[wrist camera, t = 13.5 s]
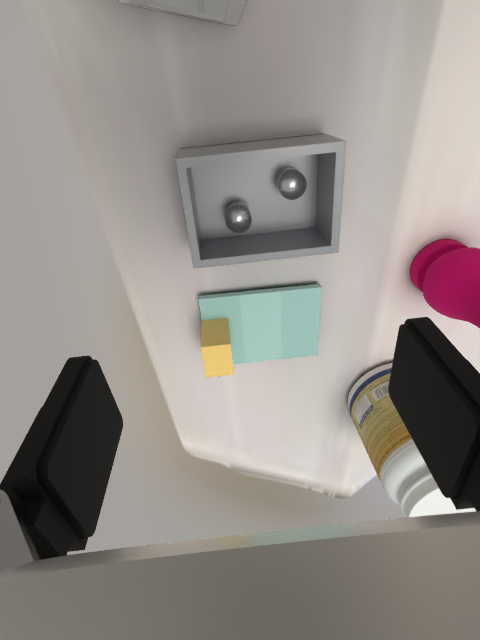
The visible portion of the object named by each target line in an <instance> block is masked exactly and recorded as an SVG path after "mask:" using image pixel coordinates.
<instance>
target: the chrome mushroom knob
mask: <svg viewBox="0 0 480 640" xmlns="http://www.w3.org/2000/svg"><path fill="white" fill-rule="evenodd" d="M275 185H276V187H277V189H278V190H279V192H280V193H281V194H282V196H283V197H284V198H286V199H289V200H295V199H298V198H299V197H301V196H302V195H303V194H304V192H305V190H306V186H307V182H306V179H305V177H304V175H303V174H301V173H300V172H299V171H298V170H297V169H296V168H294V167H291V166H287V167H283V168H282V169H280V170H279V171H278V173H277V174H276V177H275Z"/></svg>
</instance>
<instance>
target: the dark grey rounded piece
mask: <svg viewBox="0 0 480 640" xmlns="http://www.w3.org/2000/svg"><path fill="white" fill-rule="evenodd" d="M225 221H226V225H227V227H228V228H229V229H230V230H231V231H232V232H235V233H242V232H245V231H246V230H247V229H248V228H249V227H250V225H251V222H252V217H251V214H250V211H249V208H248V206H247V204H246V203H245V202H243V201H241V200H233V201H231V202H230V203H228V204H227V206H226V208H225Z"/></svg>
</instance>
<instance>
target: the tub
mask: <svg viewBox="0 0 480 640" xmlns="http://www.w3.org/2000/svg"><path fill="white" fill-rule="evenodd" d="M345 147H346V141H344V140H341V139H339V138H336V137H333V136H330V135H327V134H315V135H306V136H296V137H287V138H277V139H268V140H258V141H248V142H239V143H229V144H220V145H210V146H201V147H191V148H181V149H180V150H179V152H178V154H177V156H176V158H175V161H176V167H177V173H178V179H179V185H180V191H181V197H182V203H183V208H184V214H185V220H186V226H187V232H188V238H189V244H190V250H191V256H192V262H193V267H194V268H203V267H212V266H221V265H230V264H239V263H248V262H257V261H266V260H275V259H284V258H293V257H302V256H311V255H321V254H330V253H338V251H339V236H340V221H341V206H342V192H343V177H344V162H345ZM287 166H291V167H294V168H296V169H297V170H298V171H299V172H300V173H301V174H303V175H304V177H305V179H306V182H307V186H306V190H305V192H304V194H303V195H302V196H301V197H299V198H298V199H295V200H289V199H286V198H284V197H283V196H282V194H281V193H280V192H279V190H278V189H277V187H276V185H275V177H276V174H277V173H278V171H279V170H280V169H282V168H283V167H287ZM233 200H241V201H243V202H245V203H246V204H247V206H248V208H249V211H250V214H251V217H252V222H251V225H250V227H249V228H248V229H247V230H246V231H245V232H242V233H235V232H232V231H231V230H230V229H229V228H228V227H227V225H226V221H225V208H226V206H227V204H228V203H230V202H231V201H233Z"/></svg>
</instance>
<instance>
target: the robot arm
mask: <svg viewBox="0 0 480 640" xmlns="http://www.w3.org/2000/svg"><path fill="white" fill-rule="evenodd" d="M388 392H389V396H390V399H391V401H392V402H393V404H394V406H395V408H396V410H397V412H398V414H399V415H400V417H401V419H402V421H403V423H404V425H405V426H406V428H407V430H408V432H409V434H410V436H411V438H412V439H413V441H414V443H415V445H416V447H417V449H418V450H419V452H420V454H421V456H422V458H423V460H424V462H425V463H426V465H427V467H428V469H429V471H430V473H431V474H432V476H433V478H434V480H435V482H436V484H437V486H438V487H439V489H440V491H441V493H442V494H443V495H444V497H446V498H450V499H451V501H452V502H453V504H454V506H455V508H456V510H459V509H468V508H475V510H476V511H475V512H463V513H451V514H439V515H427V516H416V517H406V518H397V519H388V520H377V521H367V522H358V523H348V524H338V525H329V526H319V527H310V528H301V529H291V530H283V531H282V530H281V531H272V532H263V533H254V534H244V535H235V536H226V537H217V538H208V539H199V540H191V541H181V542H172V543H163V544H155V545H146V546H138V547H128V548H120V549H112V550H104V551H97V552H89V553H82V554H74V555H67V552H68V551H78V550H85V547H86V543H87V540H88V537H91V536H92V535H93V534H94V532H95V529H96V525H97V522H98V518H99V514H100V510H101V507H102V503H103V499H104V495H105V492H106V488H107V484H108V481H109V477H110V473H111V470H112V466H113V462H114V458H115V455H116V451H117V447H118V443H119V440H120V436H121V432H122V428H123V419H122V416H121V414H120V411H119V409H118V407H117V404H116V402H115V400H114V397H113V395H112V393H111V390H110V388H109V386H108V383H107V381H106V379H105V376H104V374H103V372H102V369H101V367H100V365H99V363H98V361H97V360H92V358H91V357H90V356H81V357H73V358H69V359H68V360H67V362H66V363H65V365H64V367H63V369H62V371H61V373H60V375H59V377H58V379H57V381H56V382H55V385H54V386H53V388H52V390H51V392H50V394H49V396H48V398H47V400H46V402H45V403H44V405H43V407H42V408H41V409H40V411H39V412H38V414H37V416H36V418H35V420H34V422H33V424H32V426H31V428H30V429H29V431H28V433H27V435H26V437H25V439H24V441H23V443H22V445H21V446H20V448H19V450H18V452H17V454H16V456H15V458H14V460H13V461H12V463H11V465H10V467H9V469H8V471H7V473H6V475H5V476H4V479H3V480H2V482H1V484H0V640H480V373H479V372H478V371H477V370H476V369H475V368H474V367H473V366H472V364H471V363H470V362H469V361H468V360H466V359H465V358H464V357H463V356H462V354H461V353H460V352H459V351H458V350H457V349H456V348H455V347H454V345H453V344H452V343H451V342H450V341H449V340H448V339H447V338H446V336H445V335H444V334H443V333H442V332H441V331H440V330H439V328H438V327H437V326H436V325H435V324H434V323H433V322H432V321H431V319H429V318H428V317H421V318H413V319H407V320H406V321H405V324H402V325H400V327H399V332H398V337H397V342H396V348H395V353H394V359H393V364H392V369H391V375H390V380H389V386H388Z"/></svg>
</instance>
